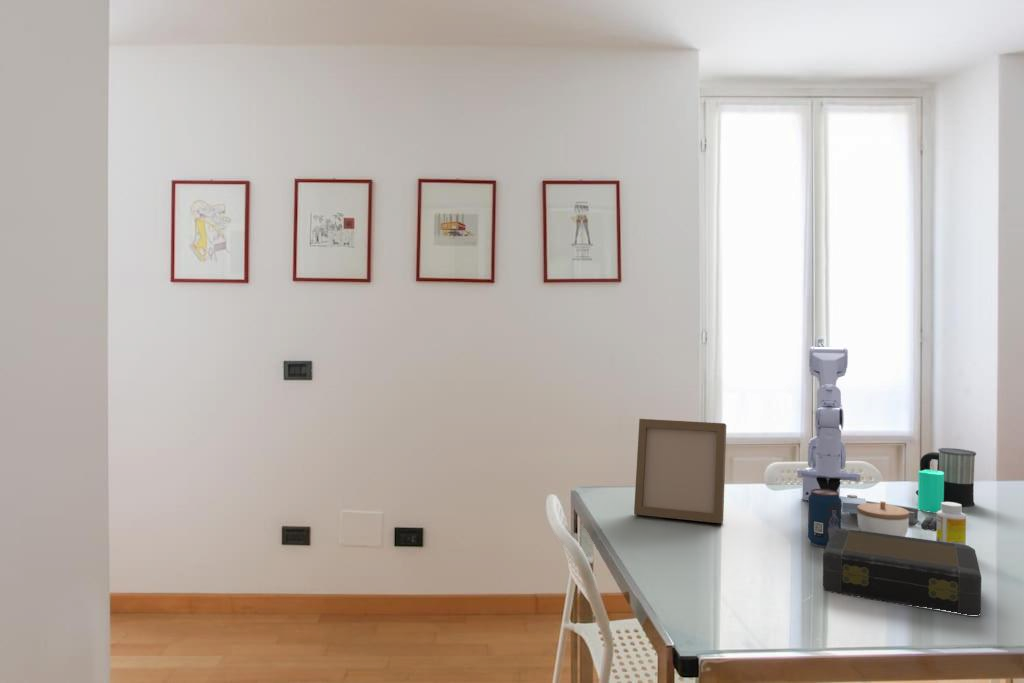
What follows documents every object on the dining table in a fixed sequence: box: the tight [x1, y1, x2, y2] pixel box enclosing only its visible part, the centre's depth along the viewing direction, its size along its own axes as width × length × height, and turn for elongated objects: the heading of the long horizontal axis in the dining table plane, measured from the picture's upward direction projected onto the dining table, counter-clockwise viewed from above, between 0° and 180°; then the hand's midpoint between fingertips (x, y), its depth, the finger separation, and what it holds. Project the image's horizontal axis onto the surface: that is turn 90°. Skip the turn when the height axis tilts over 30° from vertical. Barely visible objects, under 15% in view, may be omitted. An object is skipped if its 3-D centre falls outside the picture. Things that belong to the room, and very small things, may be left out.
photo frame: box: [633, 418, 727, 524], centre depth 185 cm, size 15×22×25 cm
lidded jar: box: [856, 500, 910, 537], centre depth 163 cm, size 11×11×9 cm
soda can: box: [807, 489, 842, 549], centre depth 161 cm, size 7×7×12 cm
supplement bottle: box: [935, 502, 967, 545], centre depth 158 cm, size 6×6×10 cm
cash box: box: [822, 527, 982, 616], centre depth 135 cm, size 25×20×8 cm
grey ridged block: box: [920, 515, 937, 530], centre depth 177 cm, size 5×9×2 cm, turn 141°
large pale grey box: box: [848, 500, 919, 526], centre depth 185 cm, size 16×6×3 cm, turn 51°
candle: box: [917, 465, 944, 513], centre depth 192 cm, size 6×6×12 cm
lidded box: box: [840, 494, 867, 514], centre depth 183 cm, size 16×6×2 cm, turn 158°
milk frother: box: [915, 447, 977, 507], centre depth 200 cm, size 14×16×15 cm
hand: (827, 507), depth 180 cm, fingers closed
